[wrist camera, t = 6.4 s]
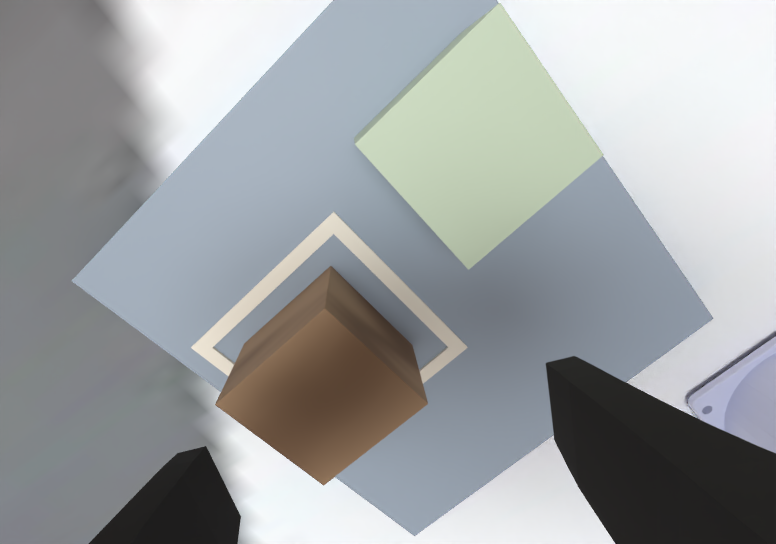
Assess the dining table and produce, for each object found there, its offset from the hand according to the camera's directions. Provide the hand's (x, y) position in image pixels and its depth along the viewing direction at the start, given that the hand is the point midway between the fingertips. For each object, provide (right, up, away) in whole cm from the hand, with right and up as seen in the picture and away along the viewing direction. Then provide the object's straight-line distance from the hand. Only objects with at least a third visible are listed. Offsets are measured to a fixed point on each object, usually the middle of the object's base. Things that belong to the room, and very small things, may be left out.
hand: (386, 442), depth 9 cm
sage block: (+2, +8, +7) cm, 11 cm away
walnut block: (-2, 0, +9) cm, 9 cm away
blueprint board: (+1, +3, +10) cm, 10 cm away
